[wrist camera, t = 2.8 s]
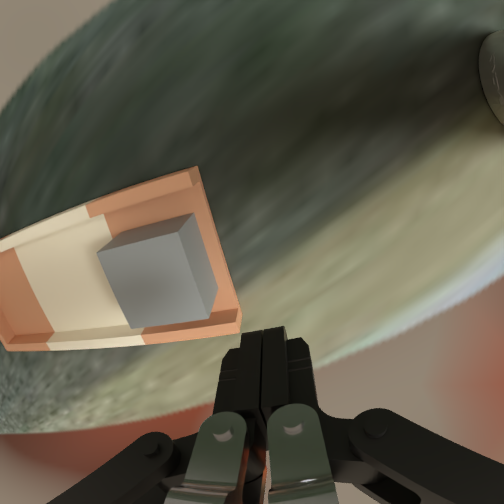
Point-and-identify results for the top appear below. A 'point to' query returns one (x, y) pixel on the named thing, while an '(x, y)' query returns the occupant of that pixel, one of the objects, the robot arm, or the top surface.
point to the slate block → (160, 273)
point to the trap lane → (101, 272)
